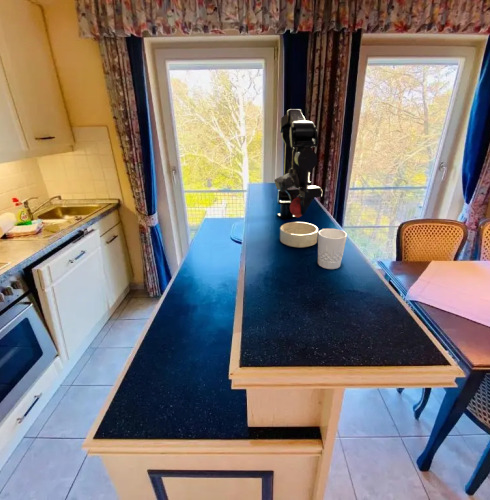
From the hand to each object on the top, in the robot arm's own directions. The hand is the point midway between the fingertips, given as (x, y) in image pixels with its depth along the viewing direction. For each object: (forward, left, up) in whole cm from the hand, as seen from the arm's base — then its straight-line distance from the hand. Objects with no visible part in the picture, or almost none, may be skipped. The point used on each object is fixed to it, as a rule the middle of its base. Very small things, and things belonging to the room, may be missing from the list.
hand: (298, 212), depth 96 cm
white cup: (+20, 0, -11) cm, 22 cm away
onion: (0, 0, -2) cm, 2 cm away
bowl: (+1, 0, -11) cm, 11 cm away
